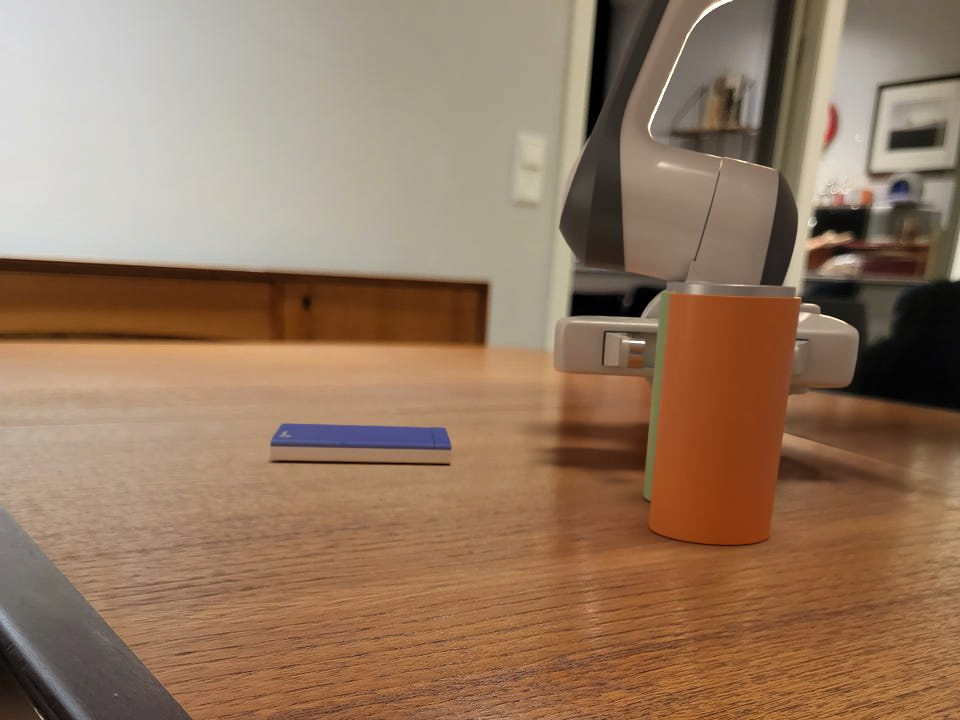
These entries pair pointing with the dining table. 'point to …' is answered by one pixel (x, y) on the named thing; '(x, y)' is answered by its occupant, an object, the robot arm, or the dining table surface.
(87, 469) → the dining table surface
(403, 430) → the hard drive
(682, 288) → the orange can
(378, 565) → the dining table surface
